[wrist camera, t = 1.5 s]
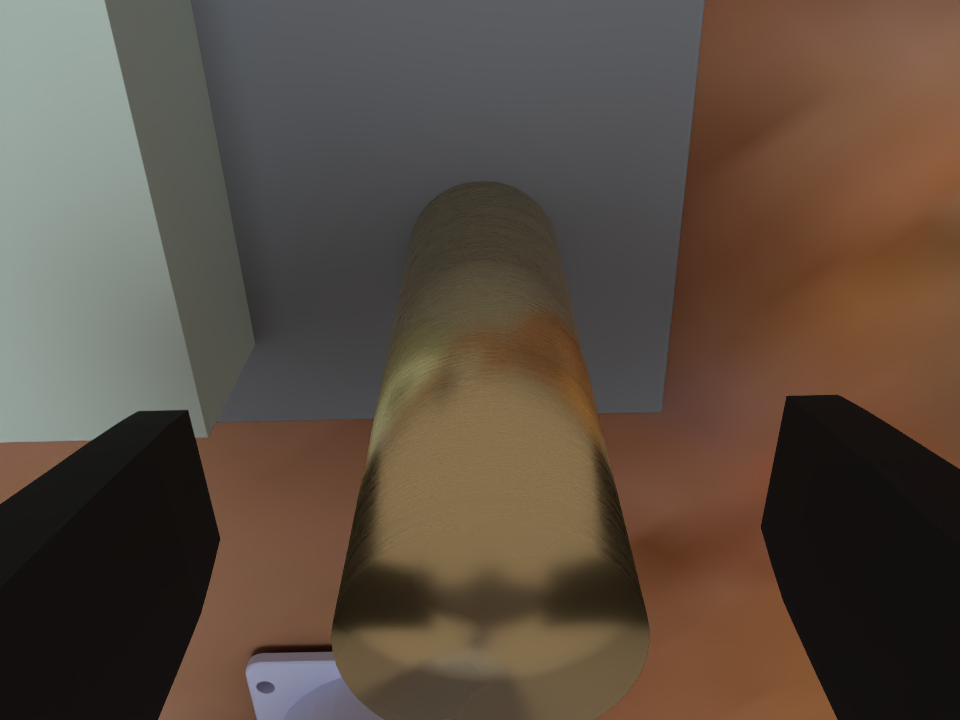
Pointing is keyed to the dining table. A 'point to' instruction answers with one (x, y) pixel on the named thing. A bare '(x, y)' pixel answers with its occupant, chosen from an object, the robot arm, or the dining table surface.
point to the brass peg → (487, 491)
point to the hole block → (112, 222)
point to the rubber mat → (445, 172)
